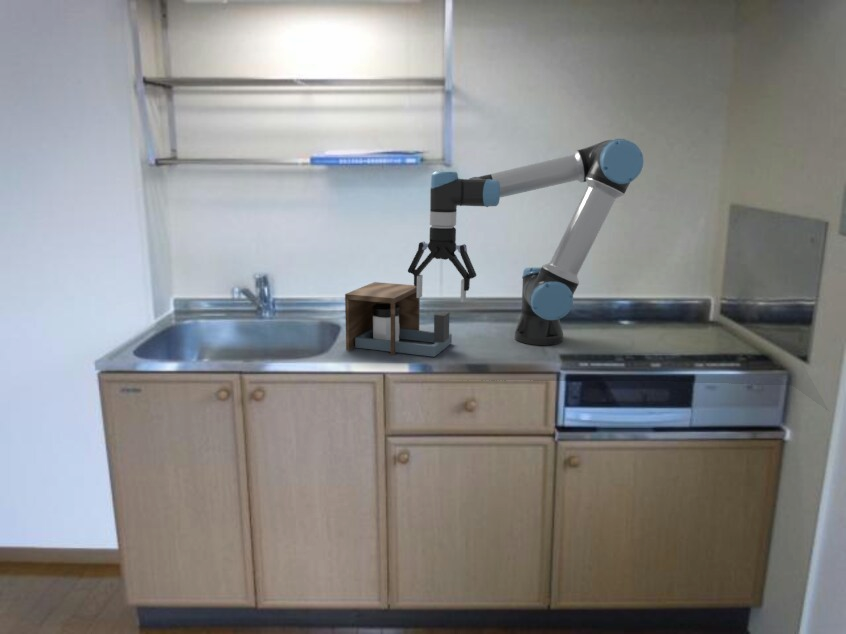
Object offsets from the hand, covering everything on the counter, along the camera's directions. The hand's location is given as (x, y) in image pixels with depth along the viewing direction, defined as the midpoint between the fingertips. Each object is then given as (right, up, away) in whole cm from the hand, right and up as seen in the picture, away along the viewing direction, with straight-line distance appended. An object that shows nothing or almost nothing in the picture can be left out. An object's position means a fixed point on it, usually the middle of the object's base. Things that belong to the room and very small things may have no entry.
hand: (440, 299), depth 196 cm
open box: (-17, -13, +10) cm, 24 cm away
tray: (-11, -14, +8) cm, 19 cm away
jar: (-17, -14, +10) cm, 24 cm away
